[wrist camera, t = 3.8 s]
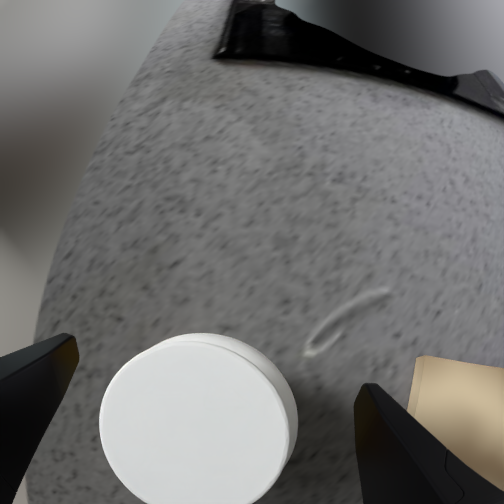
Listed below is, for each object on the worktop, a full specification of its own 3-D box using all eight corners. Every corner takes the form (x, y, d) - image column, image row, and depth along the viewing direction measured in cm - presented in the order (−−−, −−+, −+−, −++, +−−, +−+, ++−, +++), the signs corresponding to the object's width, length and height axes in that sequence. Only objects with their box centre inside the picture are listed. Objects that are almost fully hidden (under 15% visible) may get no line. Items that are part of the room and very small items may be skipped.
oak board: (487, 545, 8) (495, 548, 8) (350, 571, 9) (355, 579, 8) (532, 375, 14) (541, 372, 14) (416, 357, 15) (425, 355, 14)
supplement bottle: (265, 352, 15) (305, 292, 7) (279, 452, 13) (338, 526, 4) (160, 361, 15) (66, 312, 6) (171, 461, 13) (90, 534, 4)
